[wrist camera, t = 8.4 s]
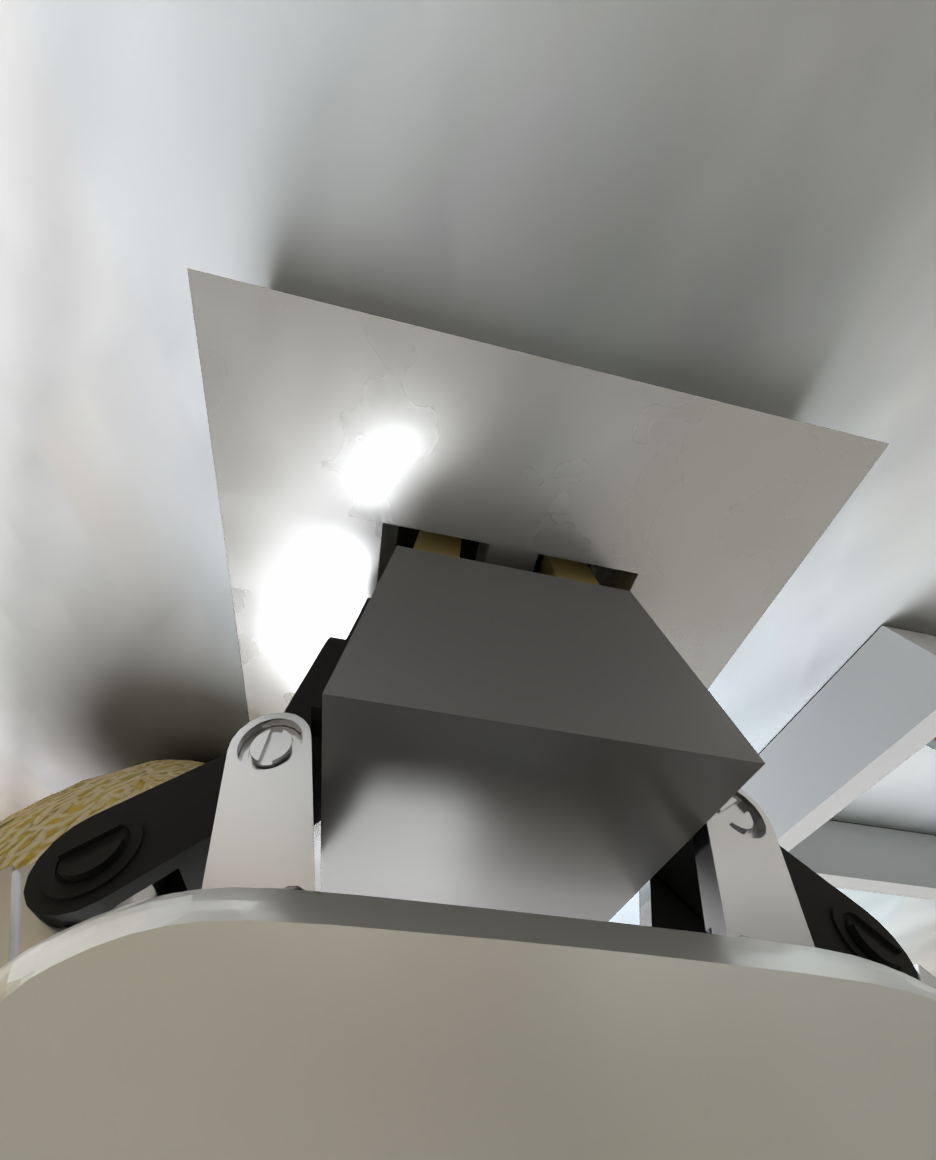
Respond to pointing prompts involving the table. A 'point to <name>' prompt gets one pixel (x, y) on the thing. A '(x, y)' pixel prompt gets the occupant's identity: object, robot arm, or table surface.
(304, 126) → the table surface
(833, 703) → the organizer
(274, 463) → the socket
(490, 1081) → the robot arm
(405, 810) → the plug
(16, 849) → the cantaloupe
